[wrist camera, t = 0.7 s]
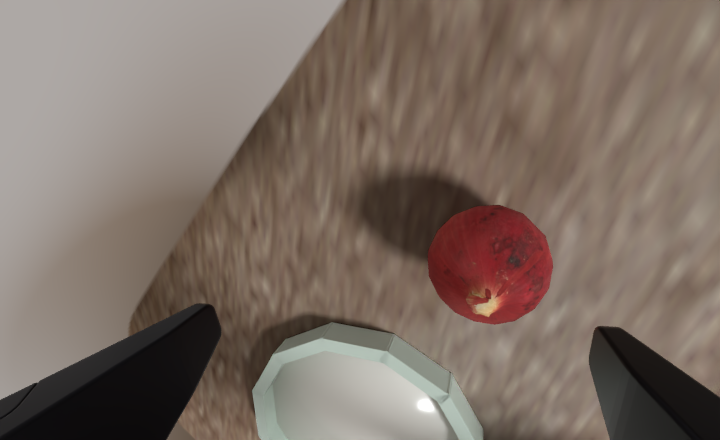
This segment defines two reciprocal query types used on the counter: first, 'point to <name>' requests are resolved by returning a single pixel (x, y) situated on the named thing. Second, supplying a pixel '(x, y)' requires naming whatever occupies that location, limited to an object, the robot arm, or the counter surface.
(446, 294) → the onion
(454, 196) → the counter surface
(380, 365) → the plate
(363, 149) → the counter surface
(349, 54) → the counter surface
